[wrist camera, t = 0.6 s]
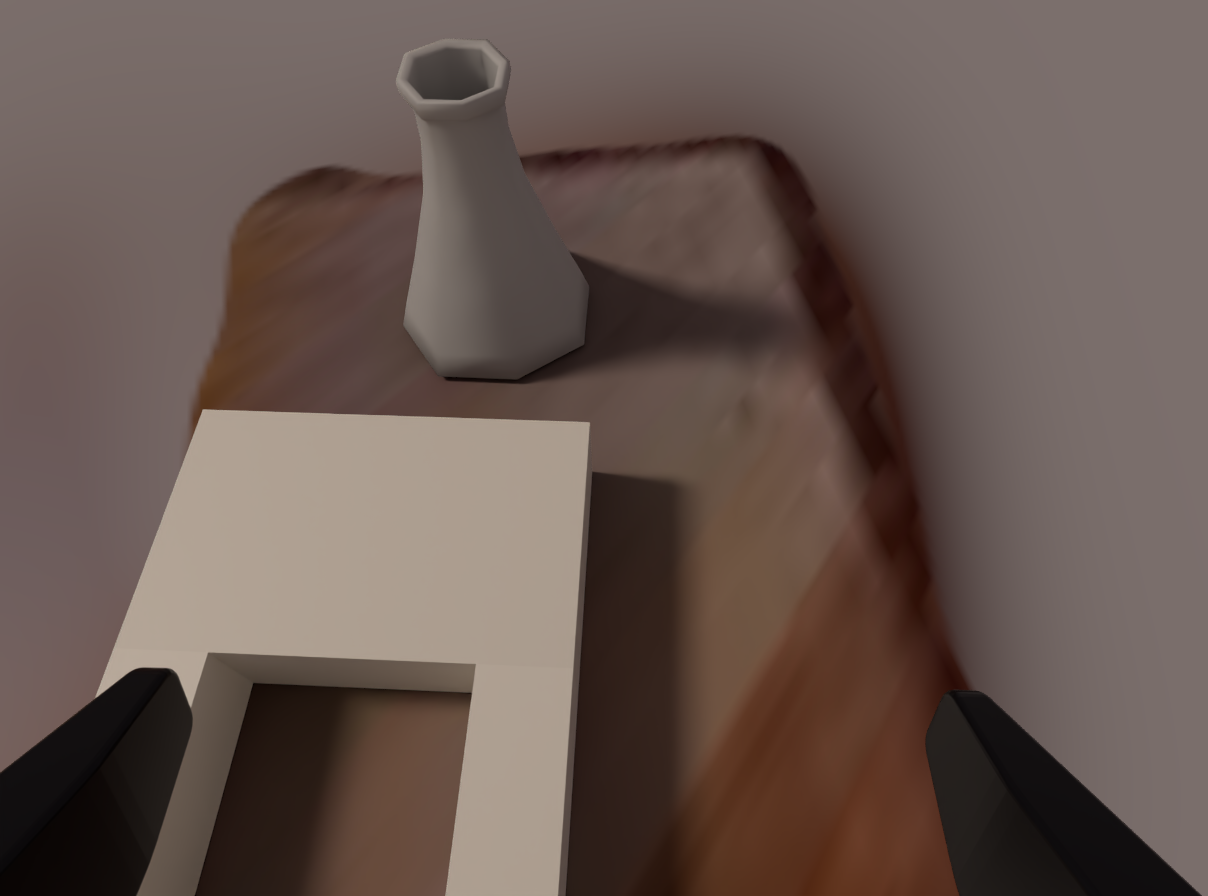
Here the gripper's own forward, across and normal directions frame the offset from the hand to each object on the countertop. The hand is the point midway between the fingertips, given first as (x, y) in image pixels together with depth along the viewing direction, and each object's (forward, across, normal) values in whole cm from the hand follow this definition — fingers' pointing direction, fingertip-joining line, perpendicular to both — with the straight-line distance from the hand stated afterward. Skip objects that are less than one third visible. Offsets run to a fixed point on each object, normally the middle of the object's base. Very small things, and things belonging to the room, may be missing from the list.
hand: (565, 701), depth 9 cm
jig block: (+9, +6, +11) cm, 15 cm away
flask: (+22, +3, +5) cm, 23 cm away
